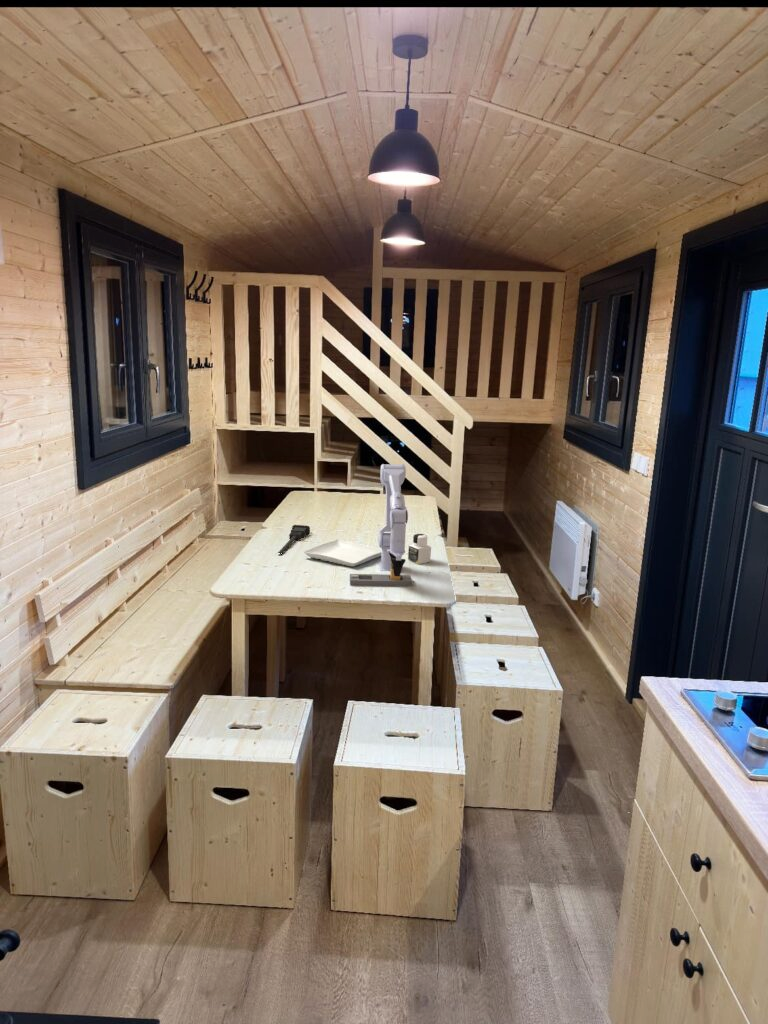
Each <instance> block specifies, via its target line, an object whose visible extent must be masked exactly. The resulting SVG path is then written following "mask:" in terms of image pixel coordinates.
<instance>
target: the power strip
mask: <svg viewBox="0 0 768 1024" xmlns="http://www.w3.org/2000/svg"><path fill="white" fill-rule="evenodd" d="M349 586H351V587H352V586H354V587H355V586H359V587H361V586H363V587H365V586H367V587H368V586H369V587H371V586H372V587H413V578H412V577H411V574H400V580H390V574H380V573H379V574H376V573H375V574H374V573H369V574H368V573H366V574H365V573H349Z"/></svg>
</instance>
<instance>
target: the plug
mask: <svg viewBox="0 0 768 1024" xmlns="http://www.w3.org/2000/svg"><path fill="white" fill-rule="evenodd" d="M389 572H390V573H389V575H390V580H400V576H394V570H393V564H392V563H391V571H389Z"/></svg>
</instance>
